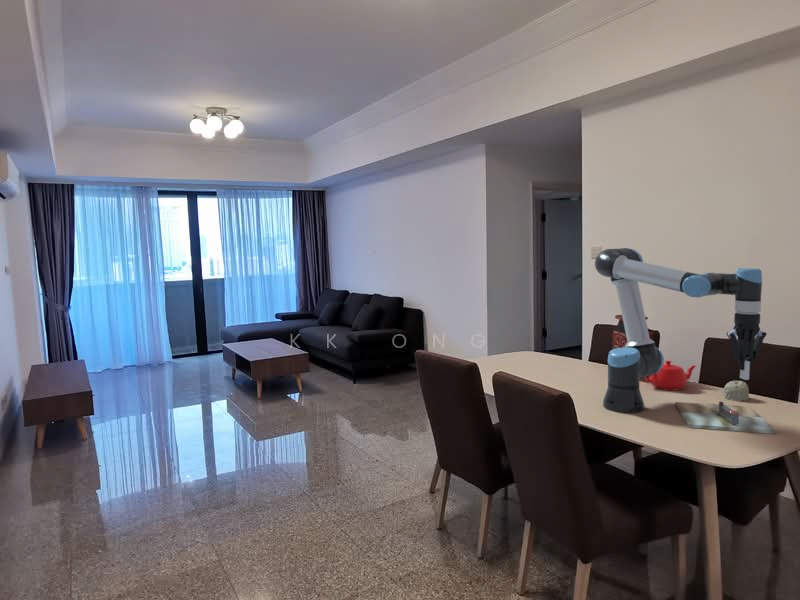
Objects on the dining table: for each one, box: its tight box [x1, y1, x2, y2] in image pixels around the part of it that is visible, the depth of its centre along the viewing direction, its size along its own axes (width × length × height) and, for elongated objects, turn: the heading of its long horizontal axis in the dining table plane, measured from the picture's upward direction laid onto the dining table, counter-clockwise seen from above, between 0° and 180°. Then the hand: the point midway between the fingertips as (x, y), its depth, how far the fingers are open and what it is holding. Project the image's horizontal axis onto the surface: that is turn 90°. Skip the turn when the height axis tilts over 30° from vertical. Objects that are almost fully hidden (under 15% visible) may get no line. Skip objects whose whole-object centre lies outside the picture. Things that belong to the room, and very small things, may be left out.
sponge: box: [722, 380, 750, 402], centre depth 218 cm, size 9×10×10 cm
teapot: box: [643, 360, 697, 391], centre depth 238 cm, size 25×16×12 cm, turn 93°
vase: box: [612, 314, 654, 378], centre depth 260 cm, size 14×14×30 cm
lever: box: [718, 404, 739, 424], centre depth 187 cm, size 3×11×4 cm, turn 169°
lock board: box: [675, 401, 776, 434], centre depth 194 cm, size 26×28×6 cm
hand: (744, 378), depth 185 cm, fingers closed
